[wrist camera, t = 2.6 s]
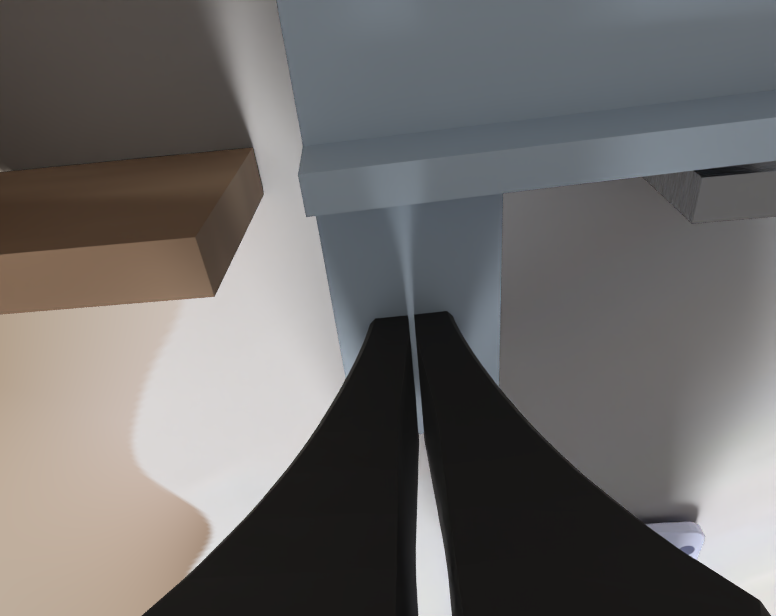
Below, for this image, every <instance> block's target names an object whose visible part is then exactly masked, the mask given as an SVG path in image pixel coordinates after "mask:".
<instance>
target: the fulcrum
mask: <svg viewBox="0 0 776 616" xmlns="http://www.w3.org/2000/svg"><path fill="white" fill-rule="evenodd" d="M643 178H644V179H645V180H646V181H647V182H648V183H649V184H651V185H652V186H653V187H654V188H655V189H656V190H657V191H658V192H659V193H660V194H661V195H662V196H663V197H664V198H665V199H666V200H667V201H668V202H670V203H671V204H672V205H673V206H674V207H675V208H676V209H677V210H678V211H679V212H680V213H681V214H682V215H683V216H684V217H685V218H686V219H688V220H689V221H690V222H691V223H692V224H694V223H706V222H718V221H729V220H741V219H752V218H764V217H776V161H768V162H760V163H752V164H743V165H735V166H727V167H718V168H710V169H702V170H693V171H685V172H677V173H668V174H660V175H652V176H643Z"/></svg>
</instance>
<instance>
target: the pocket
mask: <svg viewBox="0 0 776 616" xmlns="http://www.w3.org/2000/svg"><path fill="white" fill-rule="evenodd" d="M263 195H264V193H263V189H262V184H261V180H260V176H259V172H258V167H257V163H256V159H255V155H254V150H253V148H242V149H232V150H222V151H212V152H201V153H191V154H181V155H171V156H160V157H150V158H140V159H130V160H119V161H109V162H99V163H89V164H78V165H68V166H58V167H48V168H37V169H27V170H17V171H7V172H0V314H10V313H23V312H35V311H47V310H59V309H71V308H83V307H96V306H107V305H118V304H132V303H143V302H155V301H168V300H180V299H192V298H204V297H215V294H216V292H217V290H218V288H219V286H220V284H221V282H222V280H223V278H224V276H225V274H226V272H227V270H228V268H229V265H230V263H231V261H232V259H233V257H234V255H235V253H236V251H237V249H238V247H239V245H240V243H241V241H242V238H243V236H244V234H245V232H246V230H247V228H248V226H249V224H250V222H251V220H252V218H253V216H254V214H255V212H256V209H257V207H258V205H259V203H260V201H261V199H262V197H263Z"/></svg>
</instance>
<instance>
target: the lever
mask: <svg viewBox="0 0 776 616" xmlns="http://www.w3.org/2000/svg"><path fill="white" fill-rule="evenodd" d="M276 1H277V6H278V12H279V17H280V23H281V28H282V34H283V39H284V45H285V50H286V55H287V61H288V66H289V72H290V77H291V83H292V88H293V94H294V99H295V104H296V110H297V115H298V121H299V126H300V132H301V137H302V143H303V150H302V155H301V161H300V167H299V172H298V177H299V182H300V187H301V192H302V197H303V203H304V208H305V213H306V217H310V216H316V219H317V224H318V230H319V235H320V241H321V246H322V251H323V257H324V262H325V268H326V273H327V279H328V284H329V290H330V295H331V300H332V306H333V311H334V317H335V322H336V328H337V333H338V339H339V344H340V349H341V355H342V360H343V366H344V371H345V377H347V376H348V374H349V372H350V370H351V368H352V366H353V364H354V362H355V360H356V358H357V356H358V353H359V351H360V349H361V347H362V344H363V342H364V339H365V337H366V334H367V331H368V329H369V325H370V323H371V322H372V321H373V320H374V319H375V318H385V317H395V316H405V315H408V319H409V330H410V341H411V352H412V362H413V373H414V384H415V395H416V407H417V420H418V434H422V433H424V427H423V415H422V404H421V392H420V380H419V369H418V357H417V346H416V334H415V320H414V314H424V313H433V312H442V311H448V312H449V313H450V314H451V315H453V317H454V320H455V322H456V324H457V326H458V328H459V330H460V331H461V333H462V335H463V337H464V338H465V340H466V342H467V343H468V345H469V346H470V348H471V349H472V351H473V353H474V354H475V355H476V357H477V358H478V360H479V361H480V363H481V364H482V365H483V367H484V368H485V369H486V371H487V372H488V373H489V375H490V376H491V377H492V379H493V380H494V382H495V383H496V384H497V385H498V387H499V366H500V314H501V263H502V212H503V193H510V192H518V191H527V190H535V189H543V188H552V187H560V186H568V185H577V184H585V183H593V182H602V181H610V180H618V179H627V178H635V177H643V176H652V175H660V174H668V173H677V172H685V171H693V170H702V169H710V168H718V167H727V166H735V165H743V164H752V163H760V162H768V161H776V0H276Z"/></svg>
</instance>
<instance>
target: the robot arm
mask: <svg viewBox="0 0 776 616" xmlns="http://www.w3.org/2000/svg"><path fill="white" fill-rule="evenodd" d="M414 320H415V334H416V346H417V357H418V369H419V380H420V392H421V404H422V415H423V427H424V438H425V445H426V450H427V456H428V461H429V467H430V472H431V478H432V483H433V489H434V494H435V499H436V505H437V510H438V516H439V521H440V526H441V532H442V537H443V543H444V548H445V555H446V562H447V569H448V578H449V588H450V598H451V609H452V616H771V615H770V614H769V612H768V611H767V609H766V608H765V607H764V605H763V604H762V602H761V601H760V600H758V599H757V598H755V597H754V596H752V595H751V594H749V593H747V592H746V591H744V590H743V589H741V588H740V587H738V586H736V585H735V584H733V583H732V582H730V581H729V580H727V579H725V578H724V577H722V576H721V575H719V574H718V573H716V572H714V571H713V570H711V569H710V568H708V567H707V566H705V565H704V564H702V563H700V562H699V561H697V559H698V556H699V553H700V551H701V548H702V545H703V543H704V540H705V535H704V533H703V531H702V529H701V527H700V526H699V525H698V524H696V523H694V522H670V523H653V524H644V523H643V522H641V521H640V520H639V519H637V518H636V517H635V516H634V515H632V514H631V513H630V512H629V511H627V510H626V509H625V508H624V507H622V506H621V505H620V504H619V503H617V502H616V501H615V500H614V499H612V498H611V497H610V496H609V495H607V494H606V493H605V492H604V491H603V490H601V489H600V488H599V487H598V486H596V485H595V484H594V483H593V482H591V481H590V480H589V479H588V478H586V477H585V476H584V475H583V474H582V473H581V472H580V471H579V470H577V469H576V468H575V467H574V466H573V465H572V464H571V463H570V462H569V461H568V460H567V459H565V458H564V457H563V456H562V455H561V454H560V453H559V452H558V451H557V450H556V449H555V448H554V447H553V446H552V445H551V444H550V443H549V442H548V441H547V440H546V439H545V438H544V437H543V436H542V435H541V434H540V433H539V432H538V431H537V430H536V429H535V428H534V427H533V426H532V425H531V424H530V423H529V422H528V421H527V420H526V418H525V417H524V416H523V415H522V414H521V413H520V412H519V411H518V409H517V408H516V407H515V406H514V405H513V404H512V402H511V401H510V400H509V399H508V398H507V397H506V395H505V394H504V393H503V392H502V390H501V389H500V388H499V387H498V385H497V384H496V383H495V382H494V380H493V379H492V377H491V376H490V375H489V373H488V372H487V371H486V369H485V368H484V367H483V365H482V364H481V363H480V361H479V360H478V358H477V357H476V355H475V354H474V353H473V351H472V349H471V348H470V346H469V345H468V343H467V342H466V340H465V338H464V337H463V335H462V333H461V331H460V330H459V328H458V326H457V324H456V322H455V320H454V317H453V315H451V314H450V313H449V312H448V311H442V312H433V313H424V314H414ZM418 458H419V434H418V420H417V407H416V395H415V384H414V373H413V362H412V352H411V341H410V330H409V319H408V315H405V316H395V317H385V318H375V319H374V320H373V321H372V322H371V323H370V325H369V329H368V331H367V334H366V337H365V339H364V342H363V344H362V347H361V349H360V351H359V353H358V356H357V358H356V360H355V362H354V364H353V366H352V368H351V370H350V372H349V374H348V376H347V377H346V379H345V381H344V383H343V385H342V387H341V389H340V391H339V393H338V394H337V396H336V398H335V399H334V401H333V403H332V404H331V406H330V407H329V409H328V411H327V412H326V414H325V416H324V417H323V419H322V420H321V422H320V424H319V425H318V427H317V428H316V430H315V431H314V433H313V434H312V436H311V437H310V439H309V440H308V442H307V443H306V444H305V446H304V447H303V449H302V450H301V451H300V453H299V454H298V455H297V457H296V458H295V459H294V461H293V462H292V463H291V465H290V466H289V467H288V468H287V470H286V471H285V472H284V473H283V475H282V476H281V477H280V478H279V479H278V481H277V482H276V483H275V484H274V485H273V487H272V488H271V489H270V490H269V491H268V493H267V494H266V495H265V496H264V497H263V499H262V500H261V501H260V502H259V503H258V504H257V505H256V507H255V508H254V509H253V510H252V511H251V512H250V513H249V514H248V515H247V517H246V518H245V519H244V520H243V521H242V522H241V523H240V524H239V525H238V526H237V527H236V528H235V529H234V530H233V531H232V532H231V533H230V534H229V535H228V536H227V537H226V538H225V539H224V540H223V541H222V542H221V543H220V544H219V545H218V546H217V547H216V548H215V549H214V550H213V551H212V552H211V553H210V554H209V555H208V556H207V557H206V558H205V559H204V560H203V561H202V562H201V563H200V564H199V565H198V566H197V567H196V568H195V569H194V570H193V571H192V572H191V573H190V574H189V575H187V576H186V577H185V578H184V579H183V580H182V581H181V582H180V583H179V584H177V585H176V586H175V587H174V588H173V589H172V590H171V591H169V592H168V593H167V594H166V595H165V596H164V597H163V598H161V599H160V600H159V601H158V602H157V603H156V604H155V605H153V606H152V607H151V608H150V609H149V610H148V611H147V612H145V613H144V614H143V615H142V616H418V604H417V586H416V522H417V490H418Z"/></svg>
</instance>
